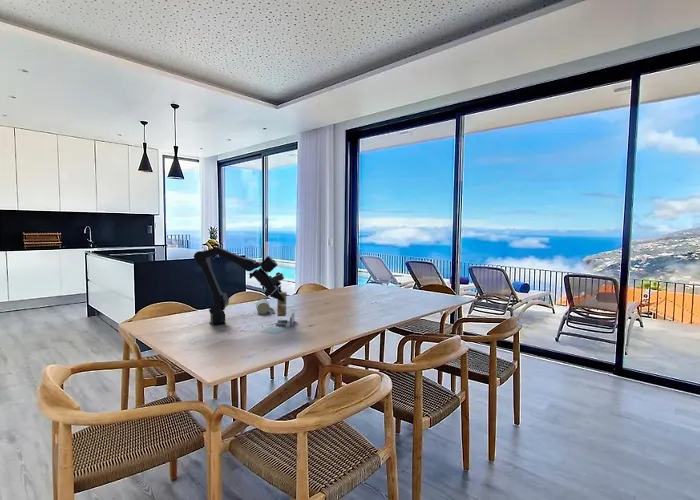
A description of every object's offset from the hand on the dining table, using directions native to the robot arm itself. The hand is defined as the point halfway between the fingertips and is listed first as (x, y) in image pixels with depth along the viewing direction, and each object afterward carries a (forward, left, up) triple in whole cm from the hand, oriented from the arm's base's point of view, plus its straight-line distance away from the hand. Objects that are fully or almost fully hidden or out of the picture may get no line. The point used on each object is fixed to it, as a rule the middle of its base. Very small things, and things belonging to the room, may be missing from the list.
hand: (284, 300), depth 193 cm
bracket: (0, 0, -13) cm, 13 cm away
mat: (-11, -7, -13) cm, 19 cm away
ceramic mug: (+5, +28, -13) cm, 32 cm away
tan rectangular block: (-1, +1, -8) cm, 8 cm away
